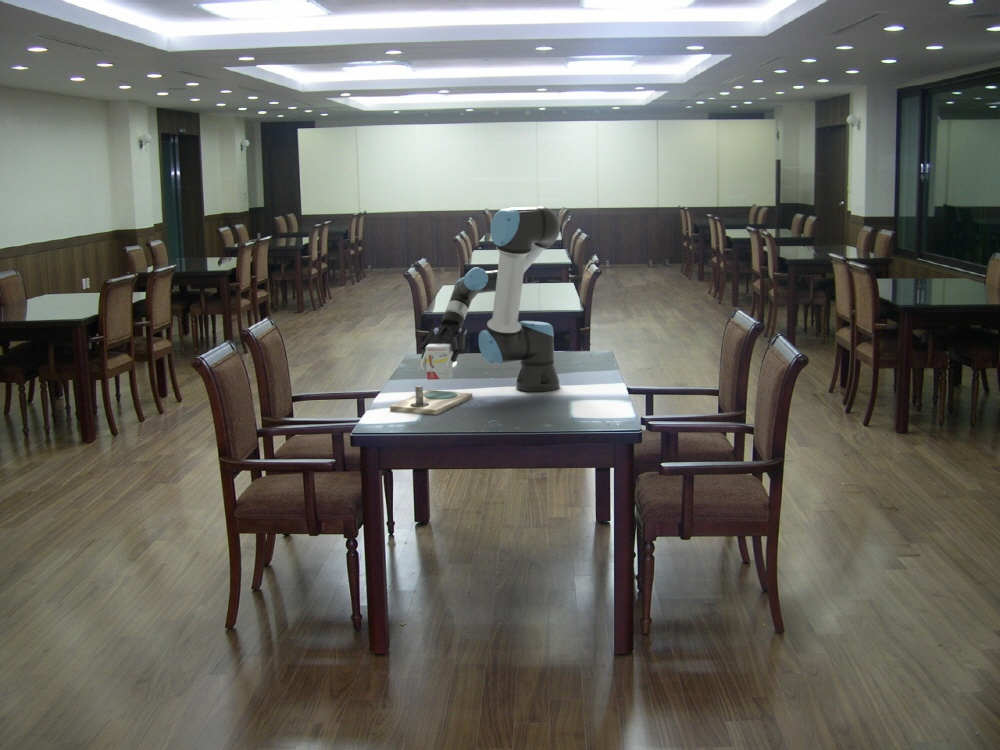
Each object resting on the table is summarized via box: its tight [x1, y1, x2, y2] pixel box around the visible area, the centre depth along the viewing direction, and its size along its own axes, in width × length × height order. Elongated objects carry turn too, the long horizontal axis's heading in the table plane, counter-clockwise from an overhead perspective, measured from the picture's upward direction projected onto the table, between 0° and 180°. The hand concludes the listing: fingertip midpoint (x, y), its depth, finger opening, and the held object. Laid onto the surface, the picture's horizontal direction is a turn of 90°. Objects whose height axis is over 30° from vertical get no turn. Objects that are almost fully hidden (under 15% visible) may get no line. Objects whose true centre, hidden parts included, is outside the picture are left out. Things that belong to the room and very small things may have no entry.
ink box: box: [426, 343, 454, 381], centre depth 366 cm, size 9×5×12 cm, turn 84°
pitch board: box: [389, 385, 474, 415], centre depth 346 cm, size 17×25×8 cm
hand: (434, 368), depth 363 cm, fingers closed on ink box, 9 cm apart
